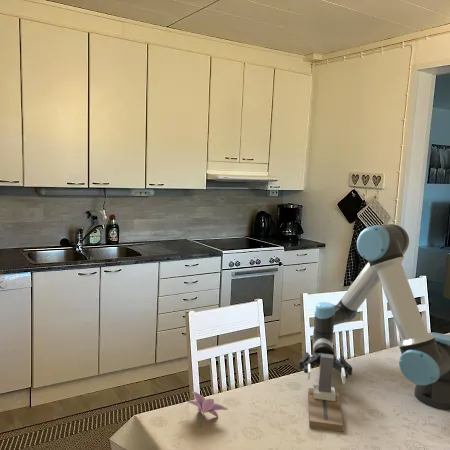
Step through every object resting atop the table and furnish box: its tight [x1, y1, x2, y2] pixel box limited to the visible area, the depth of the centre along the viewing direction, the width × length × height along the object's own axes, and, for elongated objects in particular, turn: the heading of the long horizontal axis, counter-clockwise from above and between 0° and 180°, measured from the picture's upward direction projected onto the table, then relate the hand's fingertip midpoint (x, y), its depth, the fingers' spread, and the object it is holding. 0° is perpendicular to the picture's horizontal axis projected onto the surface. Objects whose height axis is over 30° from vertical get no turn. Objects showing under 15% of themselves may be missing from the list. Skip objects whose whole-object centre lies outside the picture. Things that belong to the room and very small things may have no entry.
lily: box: [186, 390, 229, 428], centre depth 141 cm, size 12×12×10 cm
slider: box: [313, 354, 336, 401], centre depth 156 cm, size 6×7×14 cm
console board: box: [307, 387, 344, 432], centre depth 151 cm, size 22×10×2 cm, turn 171°
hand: (326, 377), depth 152 cm, fingers open, 10 cm apart
